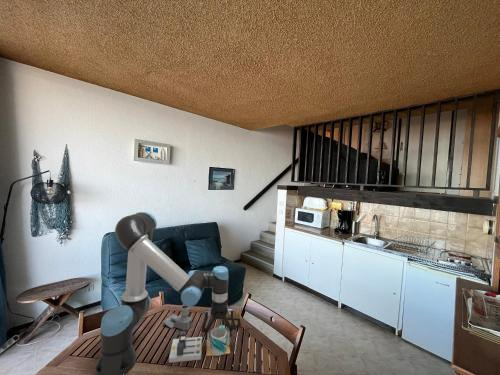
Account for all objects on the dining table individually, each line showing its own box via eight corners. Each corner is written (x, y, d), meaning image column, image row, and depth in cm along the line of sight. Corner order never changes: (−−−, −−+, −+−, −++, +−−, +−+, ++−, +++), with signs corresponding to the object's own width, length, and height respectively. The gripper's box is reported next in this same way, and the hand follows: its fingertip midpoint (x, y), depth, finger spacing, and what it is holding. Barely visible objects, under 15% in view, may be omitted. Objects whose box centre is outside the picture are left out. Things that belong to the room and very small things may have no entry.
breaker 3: (176, 355, 101) (176, 347, 101) (177, 351, 104) (177, 342, 104) (182, 355, 102) (182, 346, 101) (183, 350, 104) (183, 342, 104)
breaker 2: (179, 348, 105) (179, 340, 105) (180, 344, 108) (180, 336, 108) (185, 348, 106) (185, 339, 106) (185, 344, 108) (186, 335, 108)
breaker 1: (179, 342, 109) (179, 334, 109) (179, 339, 112) (179, 331, 111) (184, 342, 110) (184, 334, 109) (185, 338, 112) (185, 330, 112)
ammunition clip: (240, 325, 127) (241, 304, 127) (240, 327, 125) (241, 306, 125) (222, 324, 128) (222, 303, 127) (221, 326, 126) (222, 305, 125)
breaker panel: (168, 362, 100) (169, 357, 100) (173, 343, 112) (173, 338, 112) (200, 359, 103) (201, 354, 102) (201, 340, 114) (201, 336, 114)
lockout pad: (206, 356, 104) (206, 355, 104) (206, 340, 114) (206, 339, 114) (230, 353, 106) (230, 352, 106) (228, 338, 116) (228, 337, 116)
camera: (184, 312, 118) (162, 305, 124) (184, 334, 119) (162, 326, 124) (194, 303, 126) (173, 298, 132) (194, 324, 127) (173, 317, 132)
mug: (207, 354, 105) (208, 337, 104) (214, 336, 117) (214, 320, 116) (224, 356, 104) (225, 339, 104) (229, 338, 116) (230, 322, 116)
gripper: (196, 305, 104) (194, 352, 105) (243, 302, 108) (241, 347, 109) (197, 296, 111) (195, 340, 112) (240, 294, 115) (239, 336, 116)
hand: (218, 344), depth 110 cm, fingers open, 9 cm apart
